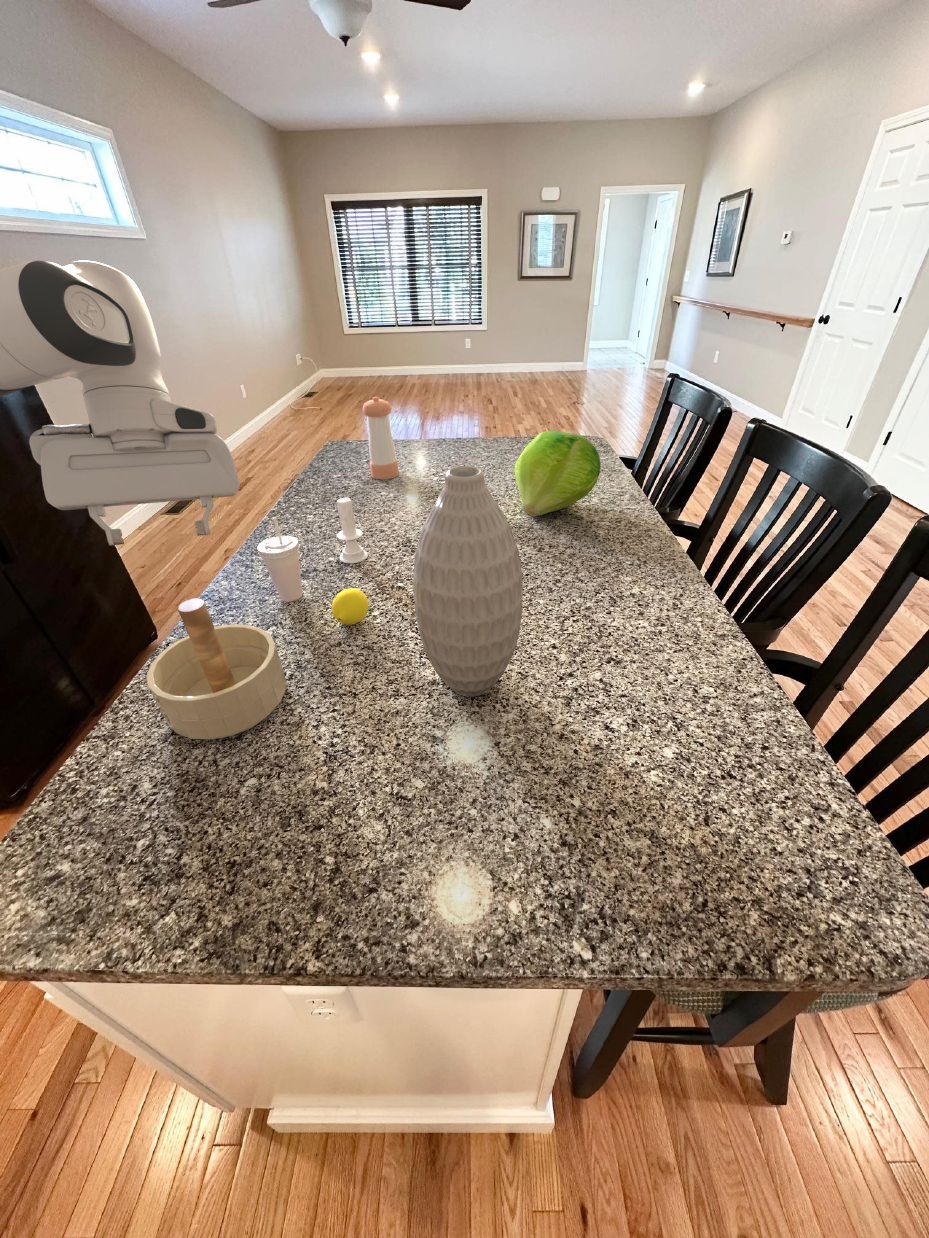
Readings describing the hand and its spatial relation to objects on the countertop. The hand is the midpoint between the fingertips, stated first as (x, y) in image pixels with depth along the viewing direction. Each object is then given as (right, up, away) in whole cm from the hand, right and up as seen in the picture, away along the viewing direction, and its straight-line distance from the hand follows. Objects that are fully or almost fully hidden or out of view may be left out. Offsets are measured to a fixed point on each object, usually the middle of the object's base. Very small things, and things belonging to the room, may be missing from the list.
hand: (161, 539), depth 63 cm
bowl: (+7, -20, +3) cm, 22 cm away
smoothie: (+8, -6, +24) cm, 26 cm away
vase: (+38, -18, +5) cm, 43 cm away
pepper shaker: (+16, +28, +72) cm, 79 cm away
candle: (+16, +2, +34) cm, 38 cm away
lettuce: (+57, +15, +51) cm, 78 cm away
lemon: (+20, -10, +17) cm, 28 cm away
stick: (+7, -20, +2) cm, 21 cm away
